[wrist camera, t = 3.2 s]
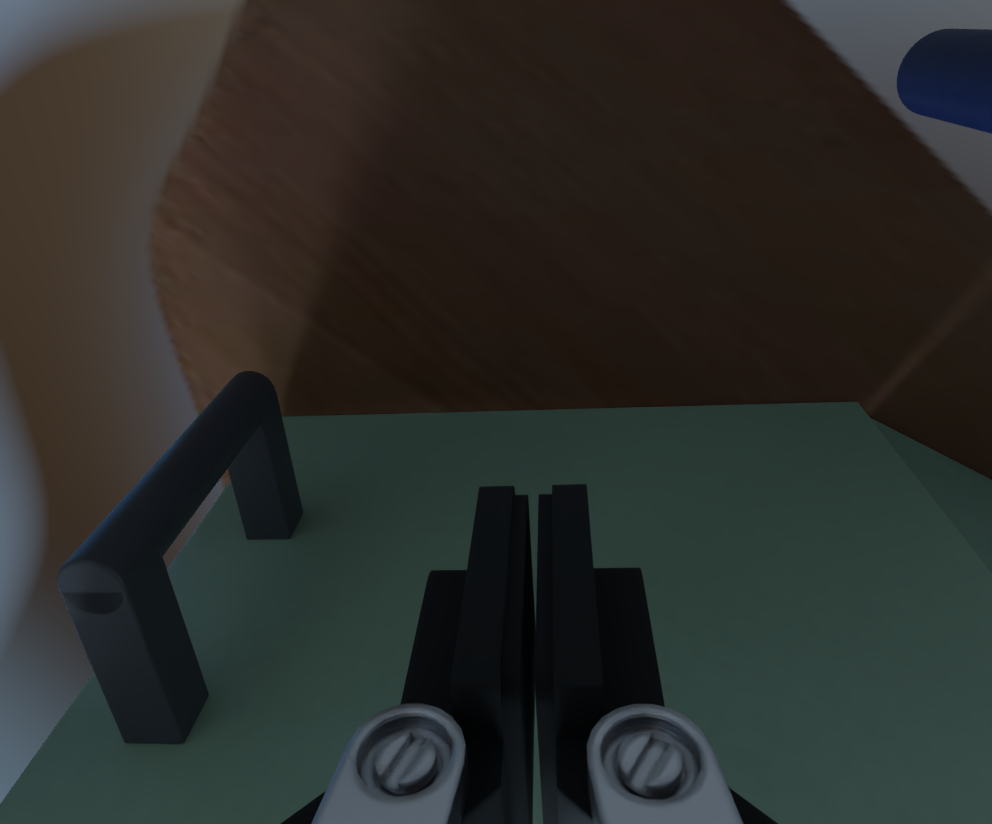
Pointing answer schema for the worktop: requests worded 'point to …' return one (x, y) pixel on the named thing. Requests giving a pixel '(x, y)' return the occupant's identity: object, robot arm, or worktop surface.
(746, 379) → the worktop surface
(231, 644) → the cupboard door
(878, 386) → the worktop surface
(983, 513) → the cupboard
